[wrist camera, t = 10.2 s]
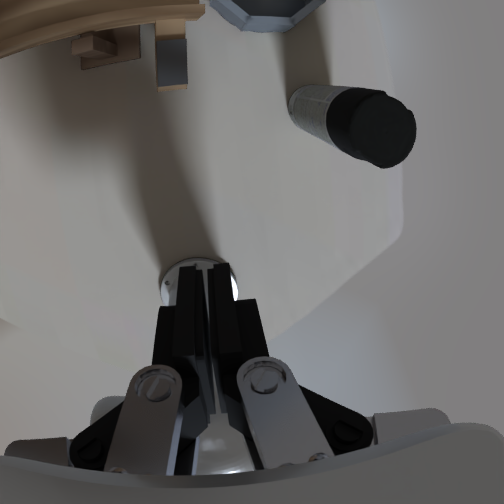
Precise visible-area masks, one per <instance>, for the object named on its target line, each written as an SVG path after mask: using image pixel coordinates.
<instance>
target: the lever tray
mask: <svg viewBox="0 0 504 504" xmlns="http://www.w3.org/2000/svg"><path fill="white" fill-rule="evenodd" d="M204 13H205V4H199V0H0V59H1V58H4V57H6V56H9V55H12V54H14V53H17V52H20V51H23V50H26V49H29V48H32V47H35V46H39V45H42V44H45V43H49V42H52V41H56V40H60V39H64V38H68V37H72V36H76V35H80V34H85V33H90V32H95V31H100V30H106V29H111V28H118V27H124V26H132V25H140V24H149V23H155V58H156V82H157V92H161V91H169V90H179V89H187V84H188V76H187V41H186V39H185V21H196V20H198V19H199V18H200V17H201V16H202V15H203V14H204Z"/></svg>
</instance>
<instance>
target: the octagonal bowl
mask: <svg viewBox="0 0 504 504" xmlns="http://www.w3.org/2000/svg"><path fill="white" fill-rule="evenodd" d="M325 2H326V0H210V7H212V8H214V9H215V10H216V11H217V12H218V13H219V14H220V15H221V16H222V17H223V18H224V19H225V20H227V21H228V22H229V23H231V24H233V25H234V26H236V27H237V28H238V29H240V30H241V31H252V32H261V33H263V32H283V33H284V32H286V31H288V30H289V29H291V28H292V27H294V26H295V25H296V24H297V23H298V22H300V21H301V20H302V19H303V18H304V17H306V16H307V15H308V14H310V13H311V12H312V11H313V10H315V9H316V8H317V7H319V6H320V5H321V4H323V3H325Z"/></svg>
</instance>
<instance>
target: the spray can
mask: <svg viewBox="0 0 504 504" xmlns="http://www.w3.org/2000/svg"><path fill="white" fill-rule="evenodd" d="M288 108H289V115H290V117H291V119H292V121H293V122H294V124H295V125H296V126H297V127H299V128H300V129H302V130H304V131H306V132H308V133H310V134H311V135H313V136H315V137H317V138H319V139H321V140H323V141H325V142H326V143H328V144H330V145H332V146H334V147H335V148H337V149H339V150H341V151H343V152H345V153H347V154H348V155H350V156H352V157H354V158H356V159H360V160H365V161H368V162H370V163H372V164H373V165H375V166H377V167H380V168H383V169H385V168H390V167H393V166H395V165H397V164H399V163H400V162H402V161H403V160H404V159H405V158H406V157H407V156H408V154H409V153H410V151H411V150H412V148H413V145H414V142H415V139H416V122H415V118H414V115H413V113H412V111H410V110H407V108H406V107H405V106H404V105H403V104H402V103H401V102H400V101H399V100H397V99H395V98H393V97H390V96H388V95H387V94H386V92H385V91H381V90H373V89H366V88H360V87H346V86H329V85H306V86H303V87H301V88H299V89H298V90H296V91H295V92H294V93H293V95H292V96H291V98H290V101H289V107H288Z"/></svg>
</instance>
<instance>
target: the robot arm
mask: <svg viewBox="0 0 504 504" xmlns="http://www.w3.org/2000/svg"><path fill="white" fill-rule="evenodd" d="M194 263H196V264H194ZM160 294H161V299H162V302H163V304H164V306H160V308H159V312H158V319H157V327H156V334H155V342H154V350H153V358H152V365H151V366H147V367H144V368H143V369H141V370H139V371H138V372H137V373H136V374H135V375H134V376H133V378H132V379H131V382H130V384H129V387H128V390H127V393H126V396H110V397H105V398H103V399H101V400H99V401H98V402H97V403H96V405H95V407H94V409H93V411H92V414H91V420H90V426H89V427H88V428H86V429H85V430H83V431H82V432H81V433H79V434H78V435H77V436H76V437H75V438H74V439H68V438H67V437H59V438H47V439H31V440H17V441H13V442H12V443H11V444H9V445H8V447H7V448H6V450H5V454H4V456H0V504H504V437H503V436H502V435H501V434H500V433H499V432H498V431H497V430H495V429H494V428H493V427H490V426H488V425H484V424H478V423H454V424H451V423H450V421H449V419H448V417H447V415H446V414H445V413H443V412H442V411H440V410H438V409H435V408H433V409H432V408H428V409H419V410H411V411H401V412H390V413H376V414H374V415H373V417H364V416H363V415H361V414H359V413H357V412H355V411H353V410H351V409H348V408H346V407H344V406H342V405H340V404H337V403H335V402H333V401H331V400H329V399H327V398H324V397H323V396H321V395H319V394H317V393H315V392H312V391H310V390H308V389H306V388H304V387H302V386H300V385H298V383H297V381H296V379H295V377H294V375H293V373H292V372H291V370H290V369H289V367H288V366H287V365H286V364H285V363H284V362H282V361H281V360H278V359H276V358H273V357H269V353H268V348H267V344H266V340H265V336H264V332H263V327H262V323H261V319H260V315H259V311H258V306H257V302H256V299H246V300H237V298H238V286H237V282H236V279H235V277H234V276H233V274H232V273H231V272H230V266H229V263H218V262H216V261H213V260H210V259H204V258H192V259H187V260H184V261H181V262H179V263H177V264H175V265H174V266H172V267H171V268H170V269H169V270H168V271H167V273H166V274H165V275H164V277H163V280H162V283H161V288H160ZM253 470H254V471H253Z"/></svg>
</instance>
